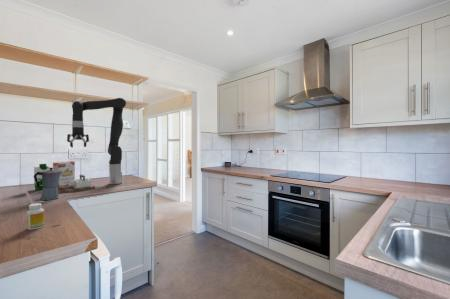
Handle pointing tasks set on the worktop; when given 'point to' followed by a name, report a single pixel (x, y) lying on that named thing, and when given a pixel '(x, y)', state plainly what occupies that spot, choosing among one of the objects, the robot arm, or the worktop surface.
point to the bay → (72, 189)
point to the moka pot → (49, 184)
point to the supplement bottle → (35, 216)
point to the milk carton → (39, 177)
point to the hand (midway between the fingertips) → (78, 147)
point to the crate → (82, 182)
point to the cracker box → (65, 173)
